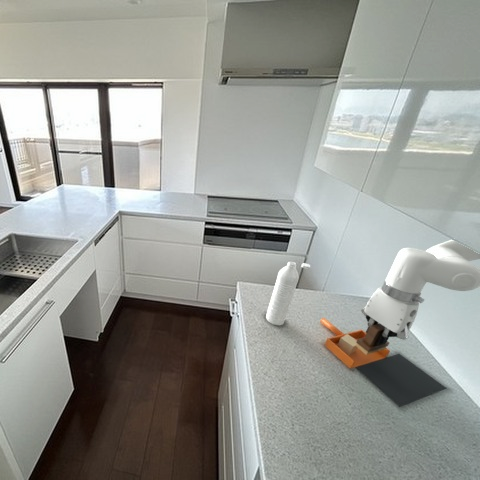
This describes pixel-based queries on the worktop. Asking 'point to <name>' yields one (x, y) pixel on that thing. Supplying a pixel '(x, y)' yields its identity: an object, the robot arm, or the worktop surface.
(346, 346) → the clay clod
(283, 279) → the water bottle
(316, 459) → the worktop surface
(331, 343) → the dustpan
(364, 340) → the brush
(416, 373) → the mat
